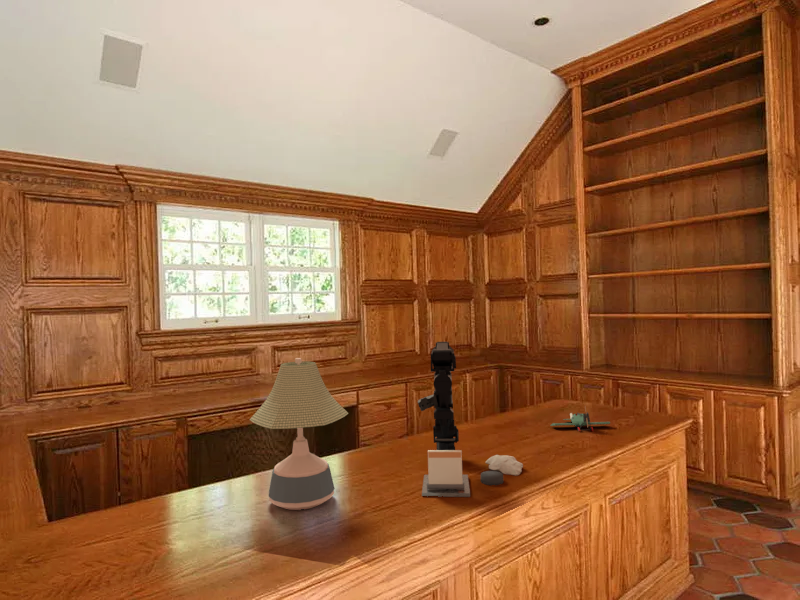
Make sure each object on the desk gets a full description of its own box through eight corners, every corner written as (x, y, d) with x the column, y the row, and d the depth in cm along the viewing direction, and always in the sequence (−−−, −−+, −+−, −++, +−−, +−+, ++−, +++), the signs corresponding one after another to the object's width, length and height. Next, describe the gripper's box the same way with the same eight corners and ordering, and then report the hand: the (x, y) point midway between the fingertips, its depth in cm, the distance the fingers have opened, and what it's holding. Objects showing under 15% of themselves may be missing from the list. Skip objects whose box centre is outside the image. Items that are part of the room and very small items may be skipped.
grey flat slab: (424, 477, 162) (424, 474, 162) (467, 477, 161) (467, 474, 161) (421, 496, 146) (421, 492, 146) (470, 496, 145) (470, 493, 145)
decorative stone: (479, 466, 173) (507, 483, 160) (478, 456, 172) (506, 472, 159) (503, 456, 178) (533, 472, 165) (502, 446, 177) (532, 462, 164)
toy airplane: (618, 431, 209) (615, 405, 212) (558, 433, 210) (556, 407, 212) (599, 431, 231) (596, 407, 234) (544, 432, 231) (542, 408, 234)
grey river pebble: (476, 482, 157) (475, 474, 157) (490, 476, 162) (490, 469, 162) (493, 488, 152) (493, 480, 152) (508, 482, 156) (507, 474, 156)
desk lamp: (233, 515, 136) (229, 363, 137) (290, 480, 163) (287, 353, 164) (316, 527, 128) (312, 364, 128) (362, 488, 154) (358, 353, 155)
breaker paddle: (427, 487, 150) (426, 449, 150) (464, 488, 149) (463, 449, 149) (427, 490, 148) (426, 451, 148) (464, 490, 147) (463, 451, 147)
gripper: (420, 383, 175) (421, 428, 175) (417, 392, 156) (418, 442, 156) (452, 383, 174) (453, 428, 174) (453, 392, 155) (454, 442, 155)
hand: (444, 435), depth 165 cm, fingers closed
